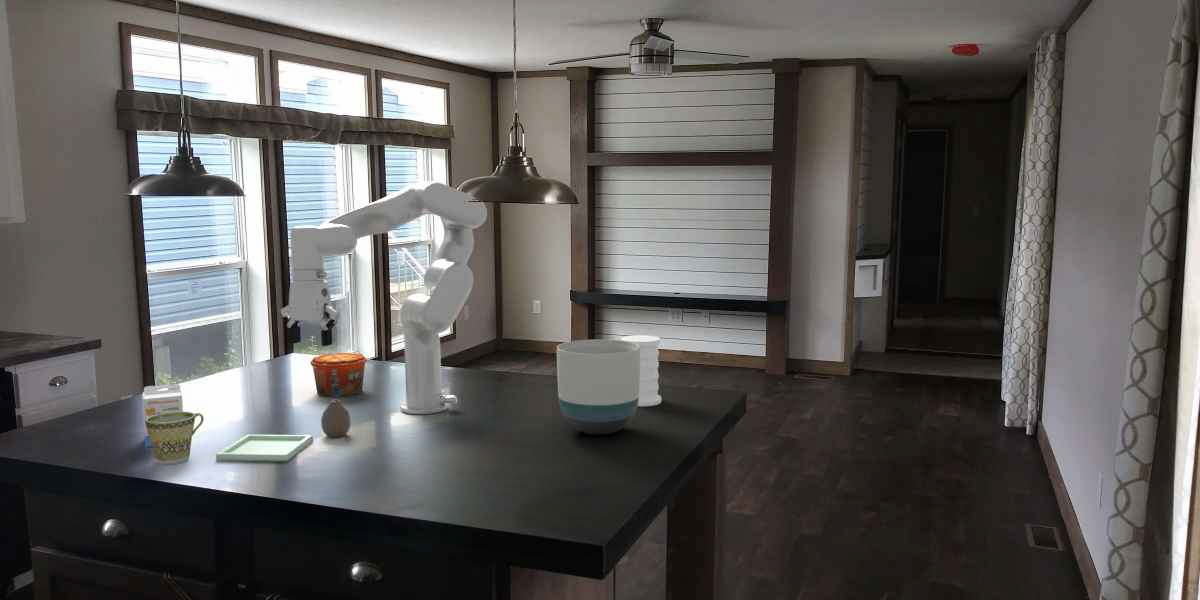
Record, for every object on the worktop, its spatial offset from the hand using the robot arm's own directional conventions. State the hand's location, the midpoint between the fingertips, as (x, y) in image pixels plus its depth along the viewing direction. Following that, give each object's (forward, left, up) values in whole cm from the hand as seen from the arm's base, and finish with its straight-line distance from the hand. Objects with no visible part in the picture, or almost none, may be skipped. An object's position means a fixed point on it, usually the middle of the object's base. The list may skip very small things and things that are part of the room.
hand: (311, 344), depth 227 cm
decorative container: (-82, -31, -22) cm, 90 cm away
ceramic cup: (+21, +27, -22) cm, 40 cm away
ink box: (+32, +13, -22) cm, 41 cm away
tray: (+4, +20, -22) cm, 30 cm away
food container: (+7, -39, -22) cm, 45 cm away
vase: (-8, +7, -22) cm, 24 cm away
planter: (-72, +1, -22) cm, 75 cm away
